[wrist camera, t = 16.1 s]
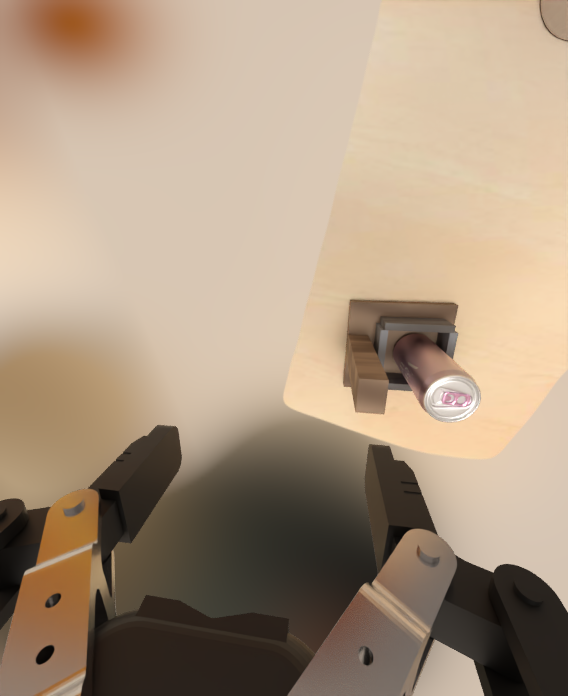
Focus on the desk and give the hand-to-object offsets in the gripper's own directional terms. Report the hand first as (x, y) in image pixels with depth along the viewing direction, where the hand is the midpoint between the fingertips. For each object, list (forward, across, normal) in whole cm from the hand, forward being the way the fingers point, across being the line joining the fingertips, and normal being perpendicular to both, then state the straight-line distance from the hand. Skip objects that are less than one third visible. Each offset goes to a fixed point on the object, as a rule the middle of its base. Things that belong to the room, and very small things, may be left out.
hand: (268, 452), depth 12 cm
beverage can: (+35, -16, +7) cm, 39 cm away
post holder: (+36, -13, +7) cm, 39 cm away
